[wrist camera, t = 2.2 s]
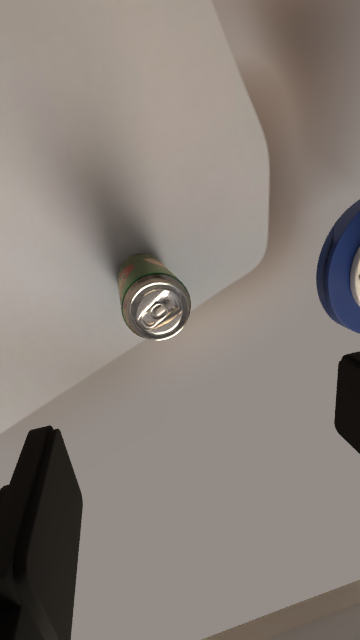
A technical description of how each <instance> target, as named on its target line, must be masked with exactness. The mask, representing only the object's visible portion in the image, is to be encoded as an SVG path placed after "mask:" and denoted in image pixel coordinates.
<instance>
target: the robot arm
mask: <svg viewBox="0 0 360 640" xmlns="http://www.w3.org/2000/svg"><path fill="white" fill-rule="evenodd" d="M350 288H351V292H352V296H353V298H354V300H355V301H356V303H357V304H358V305H359V307H360V246H359V248H358V250H357V252H356V255H355V257H354V260H353V263H352V267H351V273H350ZM334 423H335V428H336V430H337V432H338V433H339V434H340V435H341V436H342V437H343V438H344V439H345V440H346V441H347V442H348V443H349V444H350V445H351V446H352V447H353V448H354V449H355V450H356V451H357V452H358V453H360V352H356V353H351V354H347V355H344V356H343V358H342V360H341V361H340V362H339V366H338V380H337V394H336V409H335V422H334ZM82 503H83V502H82V494H81V491H80V488H79V485H78V482H77V479H76V476H75V474H74V470H73V468H72V464H71V462H70V459H69V456H68V453H67V450H66V447H65V444H64V441H63V438H62V435H61V432H60V430H59V429H55V430H53V428H52V426H46V427H42V428H37V429H33V430H30V431H29V433H28V435H27V438H26V440H25V443H24V446H23V449H22V451H21V454H20V457H19V460H18V463H17V465H16V468H15V470H14V473H13V476H12V479H11V481H10V484H9V485H6V486H3V487H2V488H1V489H0V640H71V628H72V617H73V606H74V594H75V585H76V574H77V562H78V551H79V541H80V529H81V518H82V507H83V504H82ZM202 640H360V580H358V581H356V582H353V583H350V584H347V585H345V586H342V587H339V588H337V589H334V590H331V591H329V592H326V593H323V594H321V595H318V596H315V597H313V598H310V599H307V600H305V601H302V602H299V603H297V604H294V605H292V606H289V607H286V608H283V609H281V610H278V611H276V612H273V613H271V614H268V615H265V616H262V617H260V618H257V619H255V620H252V621H249V622H247V623H244V624H242V625H239V626H237V627H234V628H231V629H228V630H226V631H223V632H221V633H218V634H215V635H213V636H210V637H207V638H205V639H202Z"/></svg>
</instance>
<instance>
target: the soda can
mask: <svg viewBox="0 0 360 640" xmlns="http://www.w3.org/2000/svg"><path fill="white" fill-rule="evenodd" d="M118 287H119V294H120V302H121V310H122V315H123V318H124V321H125V323H126V325H127V326H128V327H129V329H130V330H132V331H133V332H134V333H135V334H137V335H138V336H141V337H143V338H146V339H150V340H164V339H168V338H170V337H172V336H174V335H176V334H177V333H178V332H179V331H180V330H181V329H182V328H183V327H184V325H185V323H186V321H187V319H188V317H189V314H190V308H191V301H190V296H189V293H188V291H187V289H186V287H185V286H184V285H183V283H182V282H181V281H180V280H179V279H178V278H177V277H176V276H175V275H173V274H172V273H171V272H170V271H169V270H168V269H167V268H166V267H165V266H164V265H163V264H162V263H161V262H160V261H159V260H158V259H157V258H155V257H153V256H151V255H148V254H136V255H133V256H131V257H129V258H128V259H126V260H125V261H124V262H123V264H122V265H121V267H120V269H119V272H118Z"/></svg>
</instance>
